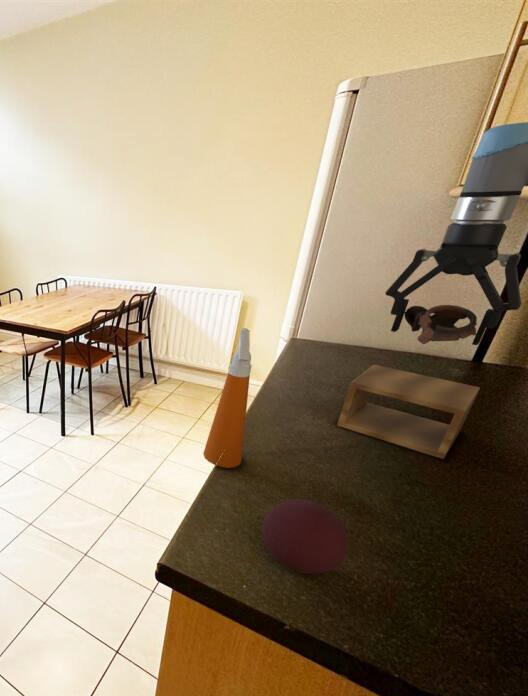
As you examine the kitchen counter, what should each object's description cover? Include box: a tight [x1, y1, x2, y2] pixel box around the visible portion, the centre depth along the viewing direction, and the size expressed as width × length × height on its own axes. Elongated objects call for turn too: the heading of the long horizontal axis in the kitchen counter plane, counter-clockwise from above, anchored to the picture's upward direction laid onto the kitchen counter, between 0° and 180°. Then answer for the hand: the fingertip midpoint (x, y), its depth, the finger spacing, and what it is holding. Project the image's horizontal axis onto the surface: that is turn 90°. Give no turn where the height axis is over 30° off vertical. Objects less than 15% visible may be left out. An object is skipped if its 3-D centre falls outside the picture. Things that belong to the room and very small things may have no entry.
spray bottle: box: [202, 327, 252, 469], centre depth 81 cm, size 7×11×26 cm, turn 156°
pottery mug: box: [404, 304, 478, 345], centre depth 84 cm, size 12×10×8 cm
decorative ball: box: [261, 498, 349, 575], centre depth 58 cm, size 10×10×10 cm
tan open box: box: [336, 364, 481, 460], centre depth 91 cm, size 18×16×11 cm
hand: (432, 336), depth 84 cm, fingers closed on pottery mug, 11 cm apart
